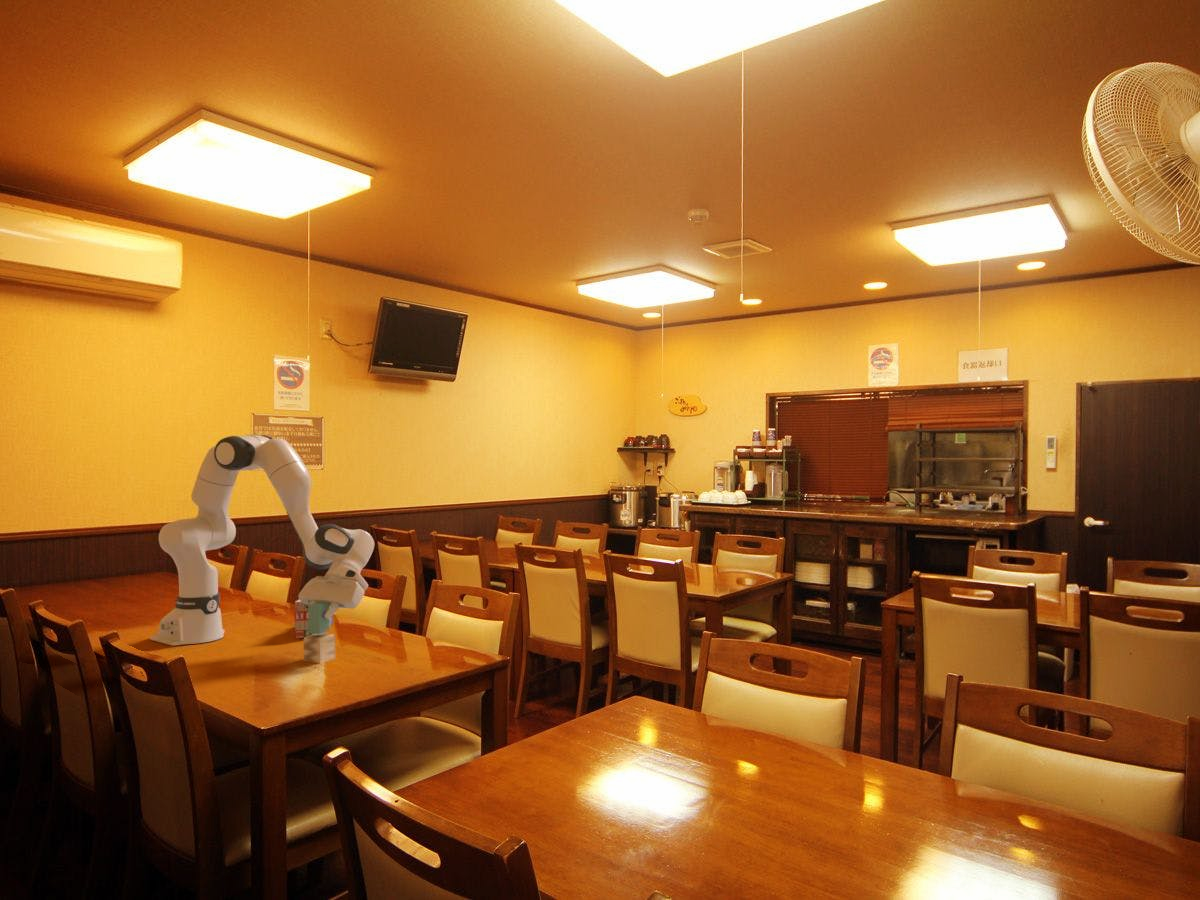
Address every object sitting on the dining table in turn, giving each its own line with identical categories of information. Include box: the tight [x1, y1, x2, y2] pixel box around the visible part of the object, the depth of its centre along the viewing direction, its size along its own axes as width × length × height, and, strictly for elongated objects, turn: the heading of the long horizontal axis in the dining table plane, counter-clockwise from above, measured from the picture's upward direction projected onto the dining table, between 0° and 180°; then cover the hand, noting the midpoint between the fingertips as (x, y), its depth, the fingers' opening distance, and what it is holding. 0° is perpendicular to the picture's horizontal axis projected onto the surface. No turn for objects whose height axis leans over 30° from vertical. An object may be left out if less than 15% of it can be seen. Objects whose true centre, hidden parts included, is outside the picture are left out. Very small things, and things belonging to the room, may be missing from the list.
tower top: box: [303, 632, 336, 652], centre depth 218 cm, size 6×6×4 cm
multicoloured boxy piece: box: [294, 598, 334, 639], centre depth 253 cm, size 21×6×12 cm, turn 4°
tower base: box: [303, 646, 336, 664], centre depth 218 cm, size 6×6×4 cm
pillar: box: [308, 602, 330, 634], centre depth 218 cm, size 4×4×8 cm
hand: (317, 617), depth 217 cm, fingers closed on pillar, 4 cm apart
